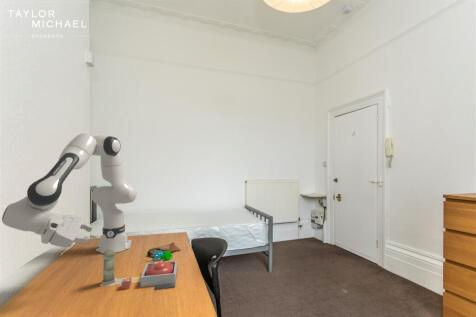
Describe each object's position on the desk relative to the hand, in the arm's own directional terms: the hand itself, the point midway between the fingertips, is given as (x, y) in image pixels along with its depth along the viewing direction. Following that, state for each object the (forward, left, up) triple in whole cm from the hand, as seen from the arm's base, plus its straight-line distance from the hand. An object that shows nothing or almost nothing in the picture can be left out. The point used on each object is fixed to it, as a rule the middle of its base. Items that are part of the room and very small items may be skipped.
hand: (89, 234), depth 98 cm
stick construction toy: (-18, +28, -21) cm, 39 cm away
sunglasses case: (-29, +29, -21) cm, 46 cm away
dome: (+4, +30, -19) cm, 36 cm away
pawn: (+4, +9, -20) cm, 22 cm away
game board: (+4, +22, -21) cm, 30 cm away
